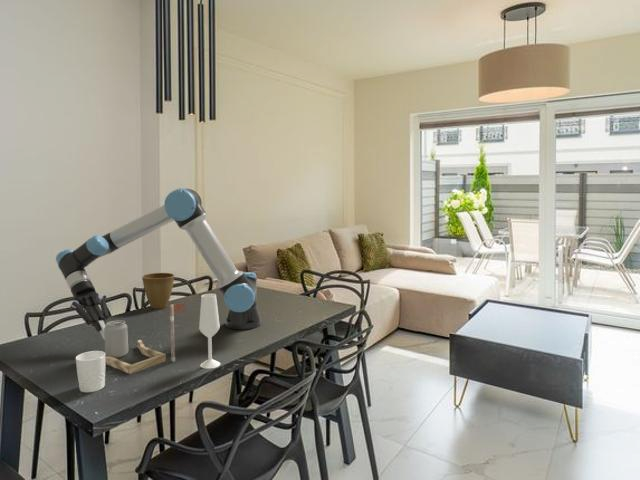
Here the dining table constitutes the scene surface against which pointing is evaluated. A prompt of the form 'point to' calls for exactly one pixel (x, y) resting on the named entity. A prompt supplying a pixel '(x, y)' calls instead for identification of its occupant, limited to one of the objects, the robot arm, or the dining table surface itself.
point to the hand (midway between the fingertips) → (106, 337)
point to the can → (116, 339)
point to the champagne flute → (209, 325)
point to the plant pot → (158, 289)
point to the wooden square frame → (148, 350)
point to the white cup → (91, 371)
